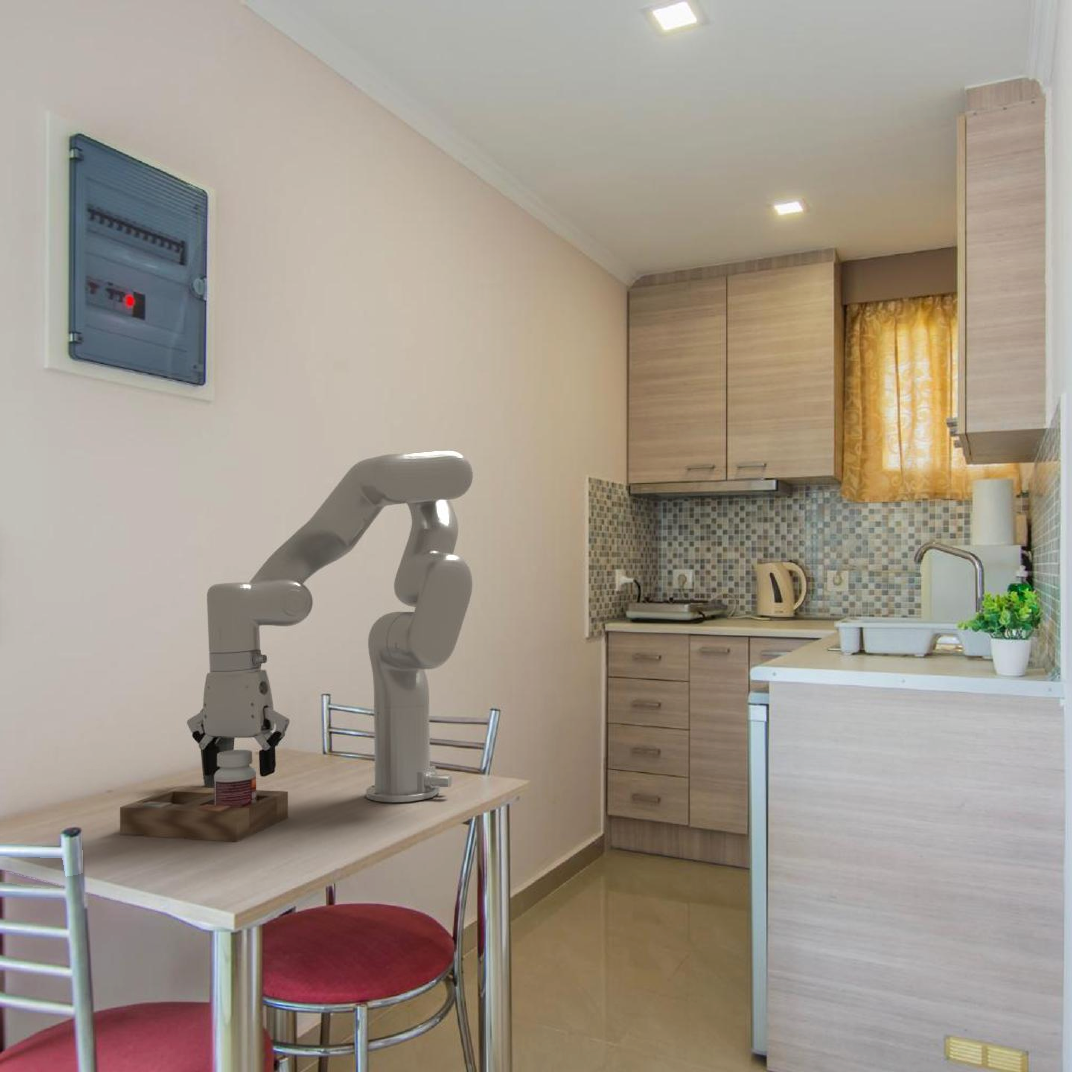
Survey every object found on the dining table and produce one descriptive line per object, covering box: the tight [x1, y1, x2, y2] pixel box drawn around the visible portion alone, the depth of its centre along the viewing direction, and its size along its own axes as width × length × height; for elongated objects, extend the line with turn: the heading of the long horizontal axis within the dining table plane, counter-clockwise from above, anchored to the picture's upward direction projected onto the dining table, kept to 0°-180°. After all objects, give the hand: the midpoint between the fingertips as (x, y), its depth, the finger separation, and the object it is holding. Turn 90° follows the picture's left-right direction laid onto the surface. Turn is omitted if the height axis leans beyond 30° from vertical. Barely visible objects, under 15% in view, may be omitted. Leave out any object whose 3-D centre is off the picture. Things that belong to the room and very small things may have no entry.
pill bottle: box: [214, 749, 257, 808], centre depth 141 cm, size 6×6×11 cm
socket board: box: [119, 786, 289, 843], centre depth 143 cm, size 20×14×4 cm
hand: (239, 774), depth 142 cm, fingers open, 9 cm apart
